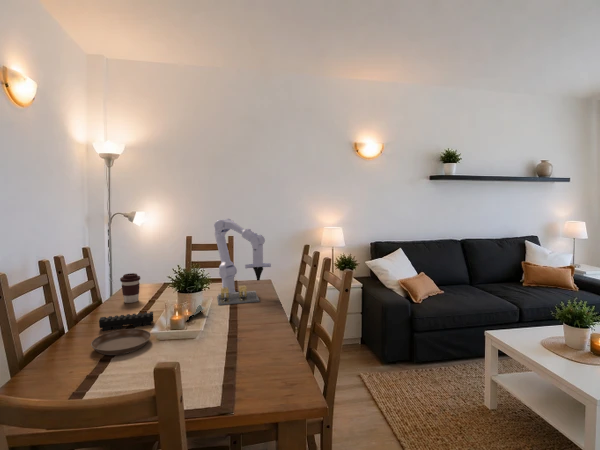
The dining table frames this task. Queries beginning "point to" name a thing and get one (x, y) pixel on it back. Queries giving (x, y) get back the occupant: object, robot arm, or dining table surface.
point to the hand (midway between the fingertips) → (258, 280)
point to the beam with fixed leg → (232, 294)
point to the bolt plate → (238, 300)
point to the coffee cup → (130, 287)
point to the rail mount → (125, 321)
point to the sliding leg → (242, 291)
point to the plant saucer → (121, 341)
